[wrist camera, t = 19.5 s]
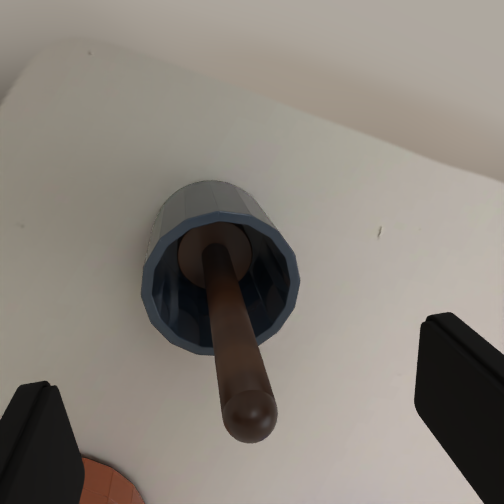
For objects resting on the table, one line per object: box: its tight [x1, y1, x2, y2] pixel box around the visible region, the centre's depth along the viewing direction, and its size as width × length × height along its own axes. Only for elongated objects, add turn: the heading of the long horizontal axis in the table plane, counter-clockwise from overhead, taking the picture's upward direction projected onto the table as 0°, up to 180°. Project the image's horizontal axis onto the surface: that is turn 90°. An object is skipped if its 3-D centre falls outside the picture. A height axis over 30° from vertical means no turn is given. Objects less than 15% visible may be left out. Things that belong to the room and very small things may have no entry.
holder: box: [141, 180, 300, 356], centre depth 23 cm, size 7×7×8 cm
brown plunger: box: [177, 222, 278, 443], centre depth 19 cm, size 4×4×16 cm
